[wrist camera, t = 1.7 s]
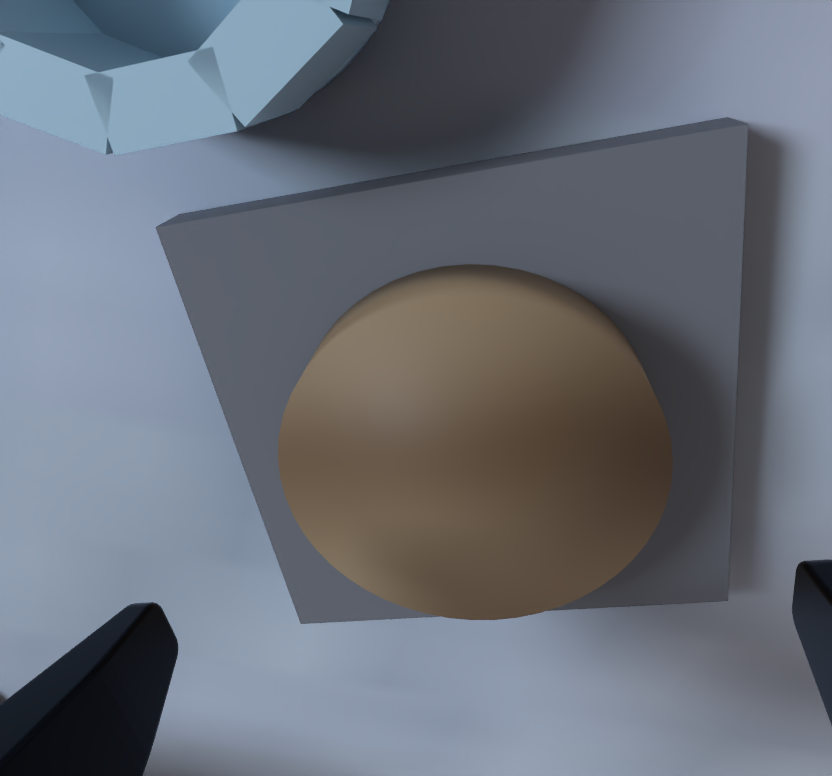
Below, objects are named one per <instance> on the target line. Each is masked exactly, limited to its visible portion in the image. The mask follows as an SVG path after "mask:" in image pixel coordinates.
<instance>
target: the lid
mask: <svg viewBox="0 0 832 776" xmlns="http://www.w3.org/2000/svg"><path fill="white" fill-rule="evenodd" d="M278 463H279V472H280V479H281V482H282V486H283V490H284V494H285V497H286V500H287V502H288V504H289V507H290V509H291V512H292V514H293V516H294V518H295V519H296V521H297V523H298V525H299V526H300V528H301V530H302V531H303V533H304V534H305V536H306V537H307V538H308V540H309V541H310V542H311V543H312V545H313V546H314V547H315V549H316V550H317V551H318V552H319V553H320V554H321V555H322V556H323V557H324V558H325V559H326V560H327V561H328V562H329V563H330V564H331V565H332V566H333V567H335V568H336V569H337V570H338V571H340V572H341V573H342V574H343V575H344V576H346V577H347V578H348V579H350V580H351V581H353V582H355V583H356V584H358V585H359V586H361V587H362V588H364V589H365V590H367V591H369V592H371V593H373V594H375V595H377V596H379V597H381V598H383V599H385V600H387V601H390V602H392V603H395V604H398V605H400V606H403V607H405V608H409V609H412V610H416V611H419V612H423V613H426V614H431V615H436V616H442V617H447V618H456V619H468V620H497V619H507V618H517V617H522V616H527V615H532V614H537V613H541V612H544V611H547V610H550V609H554V608H557V607H560V606H563V605H565V604H567V603H570V602H572V601H574V600H577V599H579V598H581V597H583V596H585V595H587V594H588V593H590V592H592V591H594V590H595V589H597V588H599V587H601V586H602V585H603V584H605V583H606V582H607V581H609V580H610V579H612V578H613V577H614V576H616V575H617V574H618V573H619V572H620V571H621V570H622V569H624V568H625V567H626V566H627V565H628V564H629V563H630V562H631V561H632V560H633V559H634V558H635V557H636V555H637V554H638V553H639V552H640V551H641V549H642V548H643V547H644V546H645V544H646V543H647V542H648V540H649V538H650V537H651V535H652V533H653V532H654V530H655V529H656V527H657V525H658V523H659V521H660V518H661V516H662V514H663V511H664V509H665V506H666V504H667V499H668V495H669V491H670V487H671V481H672V468H673V457H672V446H671V438H670V434H669V430H668V426H667V423H666V419H665V416H664V414H663V411H662V409H661V407H660V405H659V402H658V400H657V398H656V396H655V393H654V391H653V389H652V387H651V385H650V383H649V380H648V378H647V376H646V374H645V372H644V370H643V367H642V365H641V363H640V361H639V359H638V357H637V354H636V353H635V351H634V349H633V348H632V346H631V345H630V343H629V342H628V340H627V339H626V337H625V336H624V334H623V333H622V332H621V331H620V330H619V328H618V327H617V326H616V325H615V324H614V323H613V322H612V321H611V319H610V318H609V317H608V316H607V315H605V314H604V313H603V312H602V311H601V310H600V309H598V308H597V307H596V306H595V305H594V304H592V303H591V302H590V301H589V300H587V299H586V298H584V297H582V296H581V295H579V294H578V293H576V292H574V291H573V290H571V289H570V288H568V287H566V286H564V285H561V284H559V283H557V282H555V281H553V280H550V279H548V278H546V277H543V276H540V275H537V274H533V273H530V272H527V271H524V270H520V269H514V268H508V267H503V266H497V265H479V264H463V265H452V266H441V267H437V268H432V269H428V270H423V271H418V272H415V273H413V274H410V275H407V276H404V277H401V278H399V279H396V280H393V281H391V282H389V283H388V284H386V285H384V286H382V287H380V288H378V289H376V290H374V291H372V292H371V293H369V294H368V295H367V296H365V297H364V298H362V299H361V300H359V301H358V302H357V303H355V304H354V305H353V306H352V307H351V308H349V309H348V310H347V311H346V312H345V313H344V314H343V315H342V316H341V317H340V318H339V319H338V320H337V321H336V322H335V323H334V325H333V326H332V327H331V328H330V330H329V331H328V332H327V334H326V335H325V336H324V337H323V339H322V341H321V343H320V344H319V346H318V348H317V350H316V351H315V353H314V355H313V357H312V358H311V360H310V362H309V363H308V365H307V367H306V369H305V370H304V372H303V374H302V376H301V377H300V379H299V381H298V383H297V384H296V386H295V388H294V390H293V391H292V393H291V395H290V398H289V400H288V403H287V406H286V408H285V411H284V414H283V418H282V422H281V427H280V432H279V441H278Z"/></svg>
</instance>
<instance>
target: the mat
mask: <svg viewBox="0 0 832 776" xmlns="http://www.w3.org/2000/svg"><path fill="white" fill-rule="evenodd" d="M747 143H748V124H747V123H744V122H740V121H737V120H734V119H731V118H728V117H727V118H721V119H716V120H710V121H704V122H699V123H693V124H687V125H682V126H676V127H670V128H665V129H659V130H653V131H648V132H642V133H636V134H631V135H625V136H619V137H614V138H608V139H602V140H597V141H591V142H586V143H580V144H574V145H569V146H563V147H557V148H552V149H546V150H540V151H535V152H529V153H523V154H518V155H512V156H506V157H501V158H495V159H489V160H484V161H478V162H472V163H467V164H461V165H455V166H450V167H444V168H438V169H433V170H427V171H422V172H416V173H410V174H405V175H399V176H393V177H388V178H382V179H376V180H371V181H365V182H359V183H354V184H348V185H342V186H337V187H331V188H325V189H320V190H314V191H308V192H303V193H297V194H291V195H286V196H280V197H274V198H269V199H263V200H257V201H252V202H246V203H241V204H235V205H229V206H224V207H218V208H212V209H207V210H201V211H195V212H190V213H184V214H179V215H177V216H175V217H173V218H172V219H170V220H168V221H166V222H164V223H162V224H161V225H159V226H157V227H156V230H157V232H158V235H159V238H160V240H161V243H162V246H163V249H164V251H165V254H166V257H167V260H168V262H169V265H170V268H171V270H172V273H173V276H174V279H175V281H176V284H177V287H178V290H179V292H180V295H181V298H182V301H183V303H184V306H185V309H186V311H187V314H188V317H189V320H190V322H191V325H192V328H193V331H194V333H195V336H196V339H197V341H198V344H199V347H200V350H201V352H202V355H203V358H204V361H205V363H206V366H207V369H208V372H209V374H210V377H211V380H212V382H213V385H214V388H215V391H216V393H217V396H218V399H219V402H220V404H221V407H222V410H223V412H224V415H225V418H226V421H227V423H228V426H229V429H230V432H231V434H232V437H233V440H234V443H235V445H236V448H237V451H238V453H239V456H240V459H241V462H242V464H243V467H244V470H245V473H246V475H247V478H248V481H249V483H250V486H251V489H252V492H253V494H254V497H255V500H256V503H257V505H258V508H259V511H260V514H261V516H262V519H263V522H264V524H265V527H266V530H267V533H268V535H269V538H270V541H271V544H272V546H273V549H274V552H275V554H276V557H277V560H278V563H279V565H280V568H281V571H282V574H283V576H284V579H285V582H286V585H287V587H288V590H289V593H290V595H291V598H292V601H293V604H294V606H295V609H296V612H297V615H298V617H299V620H300V623H301V624H308V623H326V622H345V621H363V620H382V619H401V618H419V617H438V616H436V615H431V614H426V613H423V612H419V611H416V610H412V609H409V608H405V607H403V606H400V605H398V604H395V603H392V602H390V601H387V600H385V599H383V598H381V597H379V596H377V595H375V594H373V593H371V592H369V591H367V590H365V589H364V588H362V587H361V586H359V585H358V584H356V583H355V582H353V581H351V580H350V579H348V578H347V577H346V576H344V575H343V574H342V573H341V572H340V571H338V570H337V569H336V568H335V567H333V566H332V565H331V564H330V563H329V562H328V561H327V560H326V559H325V558H324V557H323V556H322V555H321V554H320V553H319V552H318V551H317V550H316V549H315V547H314V546H313V545H312V543H311V542H310V541H309V540H308V538H307V537H306V536H305V534H304V533H303V531H302V530H301V528H300V526H299V525H298V523H297V521H296V519H295V518H294V516H293V514H292V512H291V509H290V507H289V504H288V502H287V500H286V497H285V494H284V490H283V486H282V482H281V479H280V472H279V463H278V441H279V432H280V427H281V422H282V418H283V414H284V411H285V408H286V406H287V403H288V400H289V398H290V395H291V393H292V391H293V390H294V388H295V386H296V384H297V383H298V381H299V379H300V377H301V376H302V374H303V372H304V370H305V369H306V367H307V365H308V363H309V362H310V360H311V358H312V357H313V355H314V353H315V351H316V350H317V348H318V346H319V344H320V343H321V341H322V339H323V337H324V336H325V335H326V334H327V332H328V331H329V330H330V328H331V327H332V326H333V325H334V323H335V322H336V321H337V320H338V319H339V318H340V317H341V316H342V315H343V314H344V313H345V312H346V311H347V310H348V309H349V308H351V307H352V306H353V305H354V304H355V303H357V302H358V301H359V300H361V299H362V298H364V297H365V296H367V295H368V294H369V293H371V292H372V291H374V290H376V289H378V288H380V287H382V286H384V285H386V284H388V283H389V282H391V281H393V280H396V279H399V278H401V277H404V276H407V275H410V274H413V273H415V272H418V271H423V270H428V269H432V268H437V267H441V266H452V265H463V264H479V265H497V266H503V267H508V268H514V269H520V270H524V271H527V272H530V273H533V274H537V275H540V276H543V277H546V278H548V279H550V280H553V281H555V282H557V283H559V284H561V285H564V286H566V287H568V288H570V289H571V290H573V291H574V292H576V293H578V294H579V295H581V296H582V297H584V298H586V299H587V300H589V301H590V302H591V303H592V304H594V305H595V306H596V307H597V308H598V309H600V310H601V311H602V312H603V313H604V314H605V315H607V316H608V317H609V318H610V319H611V321H612V322H613V323H614V324H615V325H616V326H617V327H618V328H619V330H620V331H621V332H622V333H623V334H624V336H625V337H626V339H627V340H628V342H629V343H630V345H631V346H632V348H633V349H634V351H635V353H636V354H637V357H638V359H639V361H640V363H641V365H642V367H643V370H644V372H645V374H646V376H647V378H648V380H649V383H650V385H651V387H652V389H653V391H654V393H655V396H656V398H657V400H658V402H659V405H660V407H661V409H662V411H663V414H664V416H665V419H666V423H667V426H668V430H669V434H670V438H671V446H672V457H673V468H672V481H671V487H670V491H669V495H668V499H667V504H666V506H665V509H664V511H663V514H662V516H661V518H660V521H659V523H658V525H657V527H656V529H655V530H654V532H653V533H652V535H651V537H650V538H649V540H648V542H647V543H646V544H645V546H644V547H643V548H642V549H641V551H640V552H639V553H638V554H637V555H636V557H635V558H634V559H633V560H632V561H631V562H630V563H629V564H628V565H627V566H626V567H625V568H624V569H622V570H621V571H620V572H619V573H618V574H617V575H616V576H614V577H613V578H612V579H610V580H609V581H607V582H606V583H605V584H603V585H602V586H601V587H599V588H597V589H595V590H594V591H592V592H590V593H588V594H587V595H585V596H583V597H581V598H579V599H577V600H574V601H572V602H570V603H567V604H565V605H563V606H560V607H557V608H554V609H550V610H568V609H587V608H606V607H624V606H643V605H662V604H680V603H699V602H718V601H728V583H729V560H730V536H731V513H732V490H733V467H734V444H735V421H736V398H737V375H738V352H739V328H740V305H741V282H742V259H743V236H744V213H745V190H746V167H747ZM550 610H547V611H550Z"/></svg>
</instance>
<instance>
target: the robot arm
mask: <svg viewBox="0 0 832 776" xmlns="http://www.w3.org/2000/svg"><path fill="white" fill-rule="evenodd" d="M792 613H793V619H794V623H795V627H796V630H797V632H798V635H799V638H800V640H801V643H802V646H803V649H804V651H805V654H806V657H807V659H808V662H809V665H810V668H811V670H812V673H813V676H814V678H815V681H816V684H817V687H818V689H819V692H820V695H821V697H822V700H823V703H824V706H825V708H826V711H827V714H828V716H829V719H830V722H831V725H832V560H813V561H803V562H801V563H799V564H798V566H797V569H796V576H795V585H794V595H793V604H792ZM177 655H178V642H177V638H176V636H175V634H174V632H173V630H172V628H171V626H170V624H169V622H168V620H167V618H166V616H165V614H164V612H163V610H162V608H161V606H159V605H158V604H157V603H153V602H151V603H135V604H131V605H129V606H127V607H126V608H124V609H123V610H122V611H120V612H119V613H118V614H117V615H115V616H114V617H113V618H111V619H110V620H109V621H108V622H106V623H105V624H104V625H102V626H101V627H100V628H99V629H97V630H96V631H95V632H93V633H92V634H91V635H90V636H88V637H87V638H86V639H84V640H83V641H82V642H80V643H79V644H78V645H77V646H75V647H74V648H73V649H71V650H70V651H69V652H68V653H66V654H65V655H64V656H62V657H61V658H60V659H59V660H57V661H56V662H55V663H53V664H52V665H51V666H50V667H48V668H47V669H46V670H44V671H43V672H42V673H41V674H39V675H38V676H37V677H35V678H34V679H33V680H31V681H30V682H29V683H28V684H26V685H25V686H24V687H22V688H21V689H20V690H19V691H17V692H16V693H15V694H13V695H12V696H11V697H10V698H8V699H7V700H6V701H4V702H3V703H2V704H1V705H0V776H142V775H143V773H144V770H145V767H146V764H147V761H148V758H149V755H150V752H151V749H152V746H153V742H154V739H155V736H156V732H157V728H158V725H159V721H160V717H161V714H162V710H163V707H164V703H165V699H166V696H167V692H168V689H169V685H170V681H171V678H172V674H173V670H174V667H175V663H176V660H177Z"/></svg>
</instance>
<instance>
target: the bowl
mask: <svg viewBox="0 0 832 776" xmlns="http://www.w3.org/2000/svg"><path fill="white" fill-rule="evenodd" d="M390 1H391V0H0V115H1V116H4V117H6V118H9V119H12V120H14V121H17V122H20V123H22V124H25V125H28V126H30V127H33V128H36V129H38V130H41V131H44V132H46V133H49V134H52V135H54V136H57V137H60V138H62V139H65V140H68V141H70V142H73V143H76V144H78V145H81V146H84V147H86V148H89V149H92V150H94V151H97V152H100V153H102V154H105V155H107V154H110V153H114V156H115V155H120V154H125V153H130V152H135V151H140V150H145V149H150V148H155V147H161V146H166V145H171V144H176V143H181V142H186V141H191V140H196V139H201V138H206V137H211V136H216V135H221V134H226V133H231V132H236V131H240V130H242V129H245V128H248V127H251V126H254V125H257V124H260V123H262V122H265V121H268V120H271V119H274V118H277V117H280V116H282V115H285V114H288V113H291V112H293V110H296V109H299V108H300V107H301V106H302V105H303V104H304V103H305V102H306V101H307V100H308V99H309V98H310V97H311V96H312V95H313V94H314V93H315V92H317V91H318V90H320V89H321V88H323V87H324V86H326V85H327V84H328V83H329V82H330V81H331V80H332V79H334V78H335V77H336V76H337V75H338V74H339V73H340V72H342V71H343V70H344V69H345V68H346V67H347V66H348V65H349V63H350V62H351V61H352V60H353V59H354V58H355V56H356V55H357V54H358V53H359V52H360V51H361V49H362V48H363V47H364V46H365V44H366V43H367V41H368V40H369V38H370V37H371V35H372V34H373V33H374V32H375V31H376V30H377V29H378V28H377V26H378V24H379V23H380V21H382V20H383V16H384V13H385V11H386V9H387V7H388V5H389V3H390Z"/></svg>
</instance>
